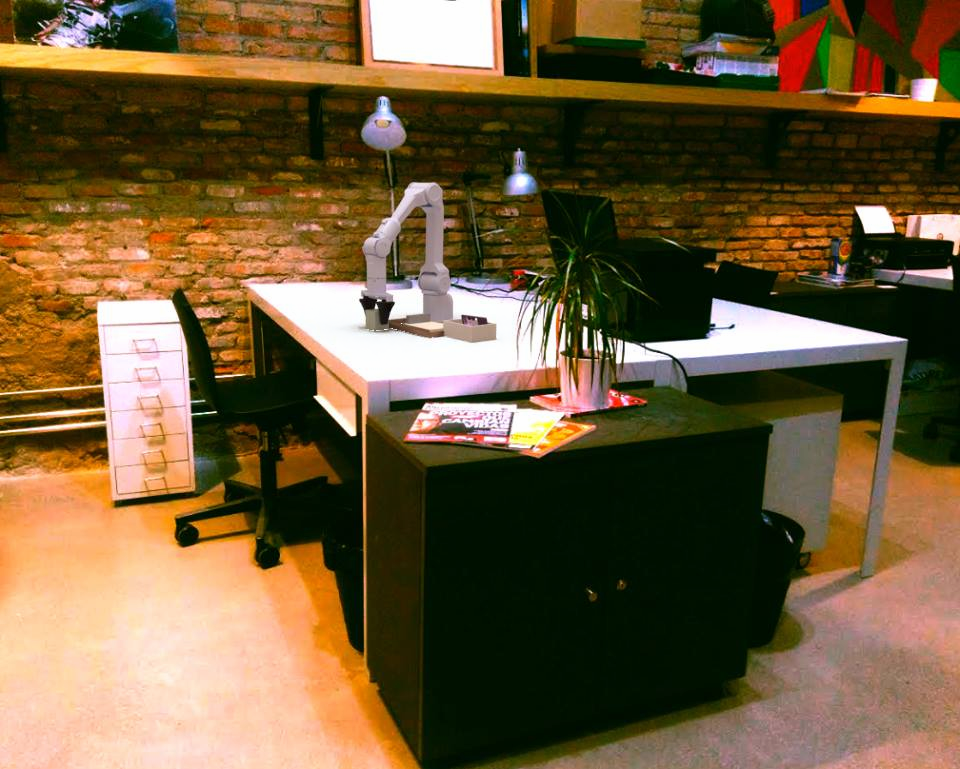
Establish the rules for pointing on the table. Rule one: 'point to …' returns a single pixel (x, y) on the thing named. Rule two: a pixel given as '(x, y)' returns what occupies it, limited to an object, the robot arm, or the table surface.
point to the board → (413, 328)
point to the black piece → (480, 320)
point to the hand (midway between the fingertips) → (377, 322)
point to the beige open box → (469, 330)
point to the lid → (423, 322)
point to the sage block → (374, 320)
